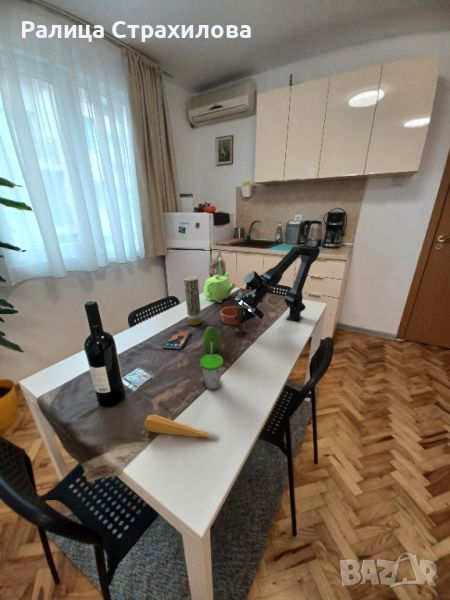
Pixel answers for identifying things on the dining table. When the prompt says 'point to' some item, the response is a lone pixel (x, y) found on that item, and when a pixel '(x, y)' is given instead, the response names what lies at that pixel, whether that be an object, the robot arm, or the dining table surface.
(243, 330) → the stirring stick
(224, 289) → the teapot
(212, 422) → the dining table surface
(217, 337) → the avocado
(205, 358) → the cup
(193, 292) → the wooden log
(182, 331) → the smartphone
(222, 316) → the bowl
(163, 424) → the carrot
